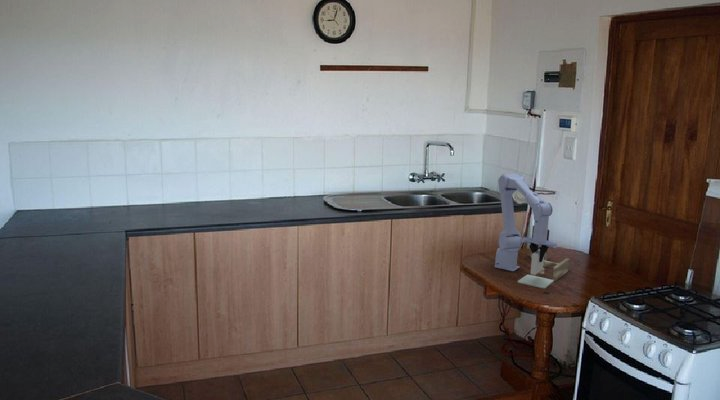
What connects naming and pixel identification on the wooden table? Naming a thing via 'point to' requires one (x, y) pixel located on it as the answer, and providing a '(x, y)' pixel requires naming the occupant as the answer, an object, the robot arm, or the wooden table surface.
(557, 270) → the corner fence
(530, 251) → the coffee box
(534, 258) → the gray rectangular slab
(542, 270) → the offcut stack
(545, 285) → the mat
